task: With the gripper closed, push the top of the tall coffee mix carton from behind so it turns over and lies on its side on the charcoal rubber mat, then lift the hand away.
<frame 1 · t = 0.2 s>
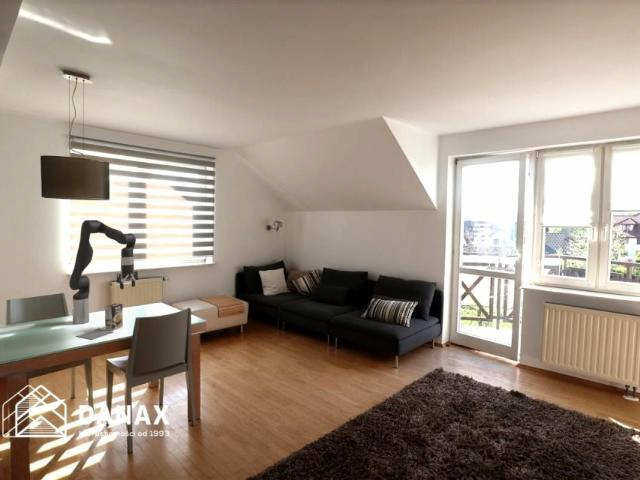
hand: (127, 287, 234), 29 cm above the table, fingers open, 8 cm apart
coffee box: (114, 328, 240), on the table
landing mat: (95, 334, 227), on the table
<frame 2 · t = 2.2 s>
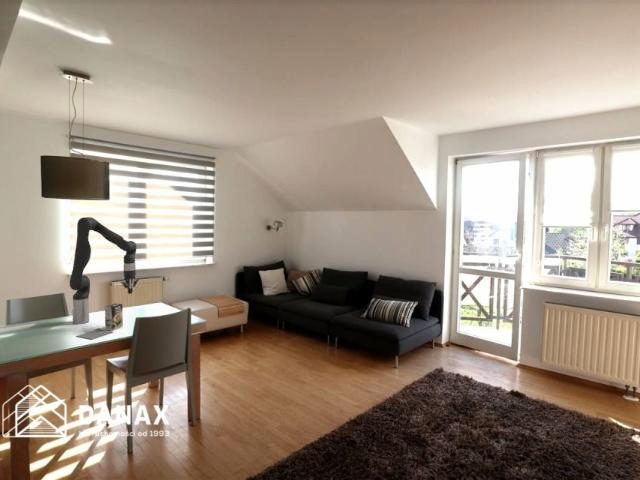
hand: (130, 293, 251), 21 cm above the table, fingers closed
nothing on the table moved.
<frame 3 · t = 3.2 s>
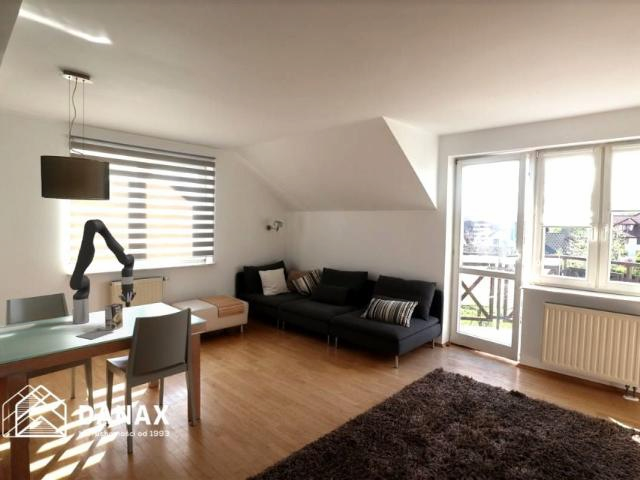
hand: (127, 307, 249), 12 cm above the table, fingers closed
nothing on the table moved.
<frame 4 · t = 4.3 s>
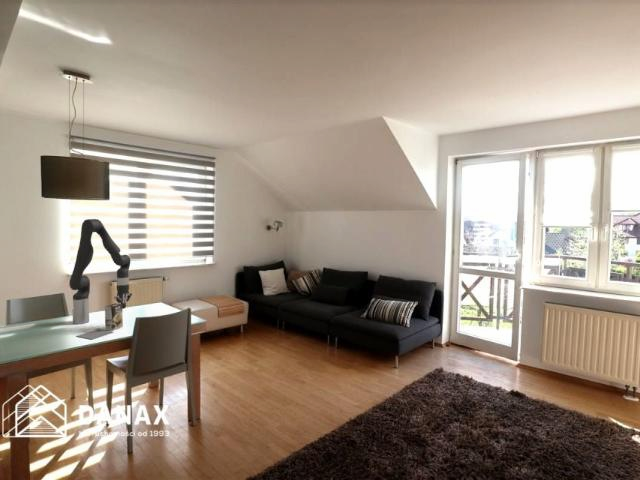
hand: (123, 308, 246), 12 cm above the table, fingers closed
coffee box: (114, 328, 240), on the table, touching gripper
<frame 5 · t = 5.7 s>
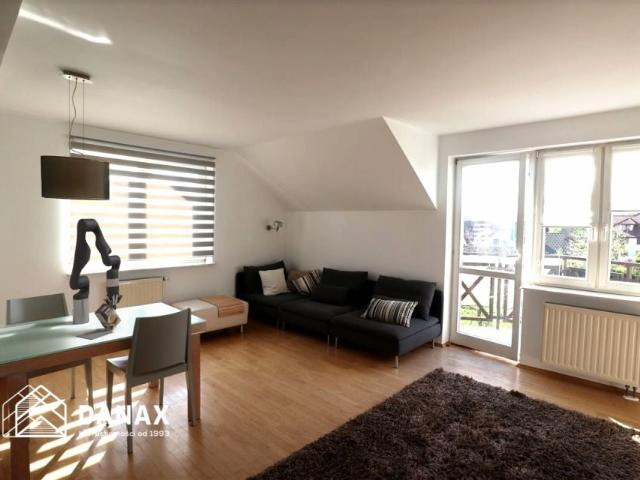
hand: (113, 310, 238), 13 cm above the table, fingers closed
coffee box: (113, 325, 239), point 2 cm above the table
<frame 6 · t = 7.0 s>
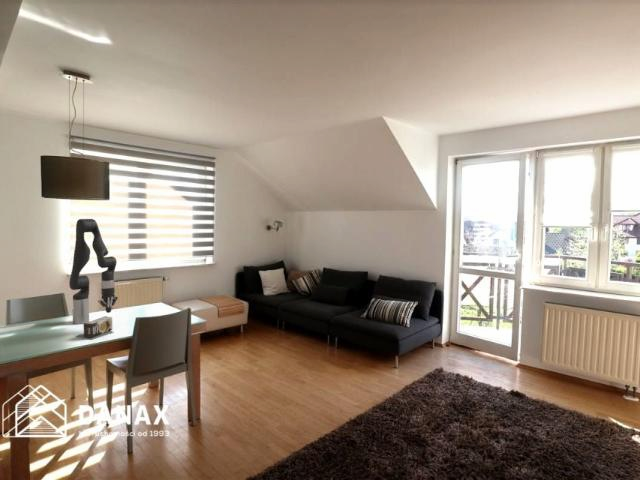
hand: (108, 312, 235), 12 cm above the table, fingers closed
coffee box: (109, 322, 235), point 5 cm above the table, touching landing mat
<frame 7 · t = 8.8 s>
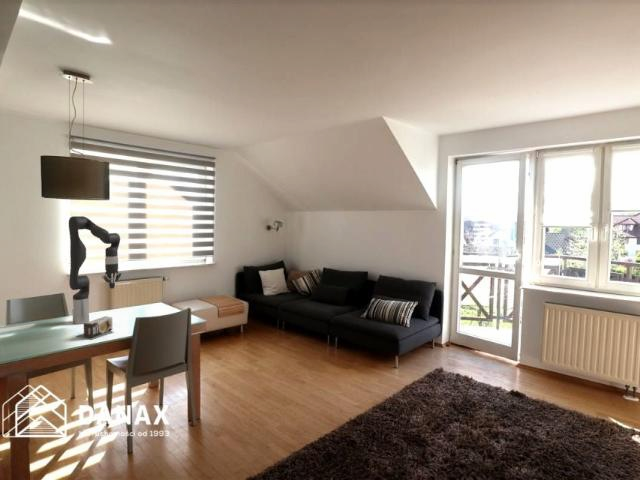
hand: (112, 288, 238), 27 cm above the table, fingers closed
nothing on the table moved.
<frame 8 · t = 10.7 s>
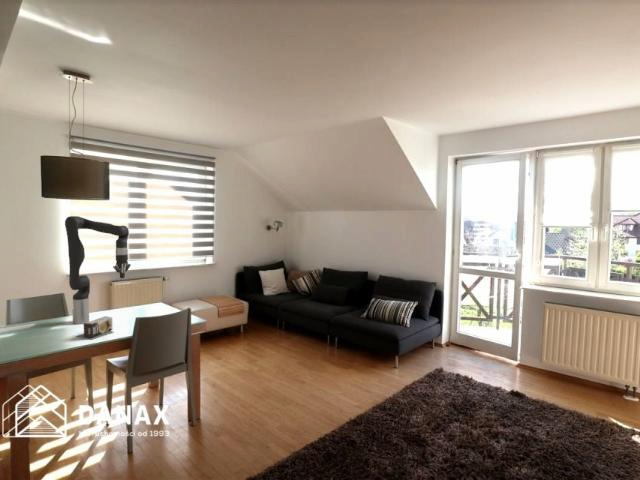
hand: (122, 278, 251), 32 cm above the table, fingers closed
nothing on the table moved.
at the end: coffee box tilted 91°; coffee box touching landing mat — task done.
